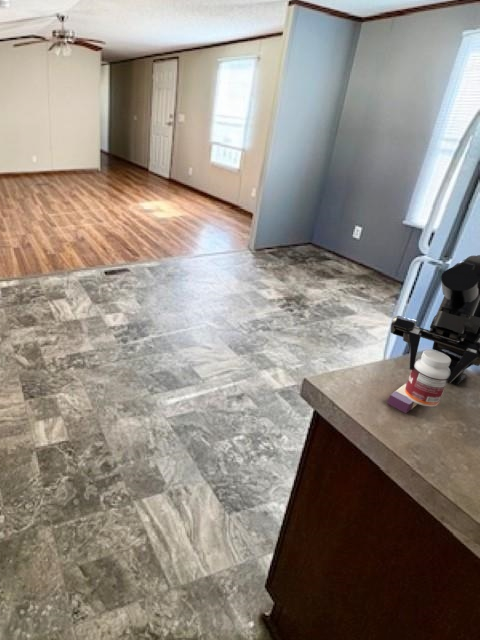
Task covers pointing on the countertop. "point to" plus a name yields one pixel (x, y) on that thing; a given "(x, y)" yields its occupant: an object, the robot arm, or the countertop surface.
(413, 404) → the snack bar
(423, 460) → the countertop surface
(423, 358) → the pill bottle
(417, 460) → the countertop surface
